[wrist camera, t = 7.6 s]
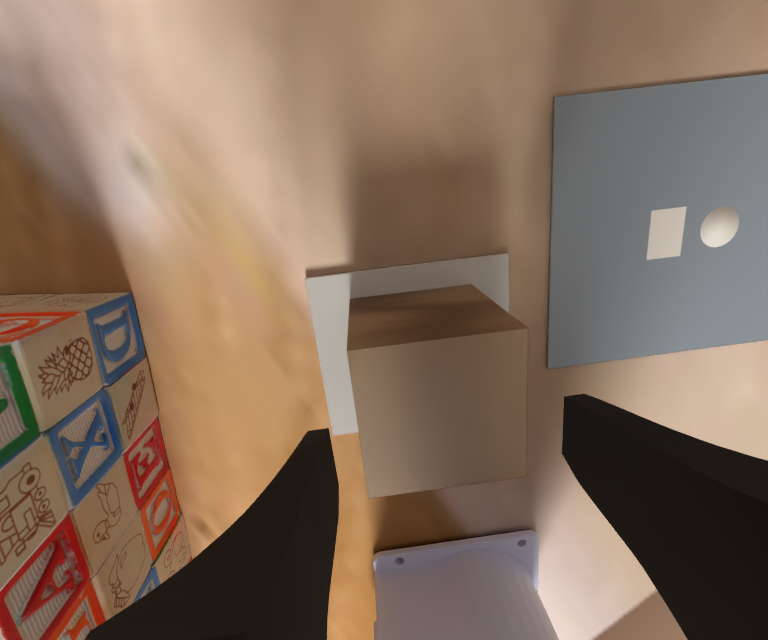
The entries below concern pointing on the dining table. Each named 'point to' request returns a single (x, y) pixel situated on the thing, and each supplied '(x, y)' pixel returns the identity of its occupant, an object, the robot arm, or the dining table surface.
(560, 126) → the blue-gray square plate
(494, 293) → the rubber mat
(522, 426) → the walnut block
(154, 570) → the stack of blocks
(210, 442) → the dining table surface
